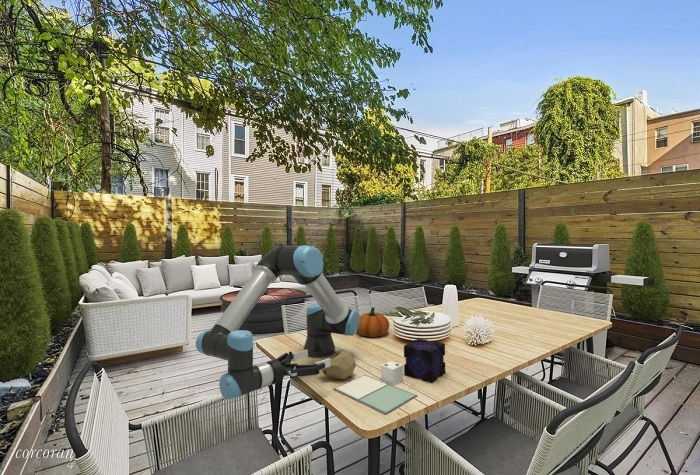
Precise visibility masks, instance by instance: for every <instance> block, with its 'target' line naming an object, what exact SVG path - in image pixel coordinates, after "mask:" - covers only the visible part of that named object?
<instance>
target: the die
mask: <svg viewBox="0 0 700 475" xmlns="http://www.w3.org/2000/svg"><path fill="white" fill-rule="evenodd" d="M403 372H404V365H403V364H401V363H397V362H395V361H392V360H389V361H388V362H385V363H383V364H380V381H382V382H385V383H387V384H390V385H392V386H395V385H397V384H398V383H401V382H402V381H404V373H403Z"/></svg>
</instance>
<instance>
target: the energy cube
mask: <svg viewBox="0 0 700 475" xmlns="http://www.w3.org/2000/svg"><path fill="white" fill-rule="evenodd" d="M428 340H429V339H423V338H416V339H414V340H413V342H408V343H407V344H405V345H403V358H405V364H404V365H403V372H404V373H403V377H408V378H411V379H421V382H426V383H430V384H434V383H435V382H436V381H437V380H438V377H440V378H441V377H443V376H444V375H445V374H446V362H445V361H444V359H445V358H444V356H445V355H446V344H445V343H443V342H437V341H434V342H430V341H428Z"/></svg>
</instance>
